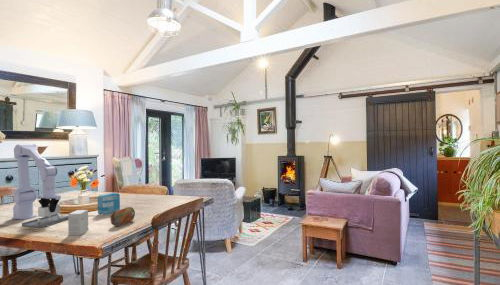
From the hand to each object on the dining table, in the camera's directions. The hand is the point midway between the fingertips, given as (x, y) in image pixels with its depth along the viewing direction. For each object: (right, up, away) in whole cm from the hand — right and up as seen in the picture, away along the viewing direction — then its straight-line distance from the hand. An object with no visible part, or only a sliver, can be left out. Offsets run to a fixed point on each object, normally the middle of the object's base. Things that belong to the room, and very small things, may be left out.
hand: (49, 211), depth 154 cm
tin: (+44, -6, -5) cm, 45 cm away
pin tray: (0, -6, 0) cm, 6 cm away
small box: (+29, -6, -20) cm, 36 cm away
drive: (0, -2, 0) cm, 2 cm away
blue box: (+24, -6, +19) cm, 31 cm away
